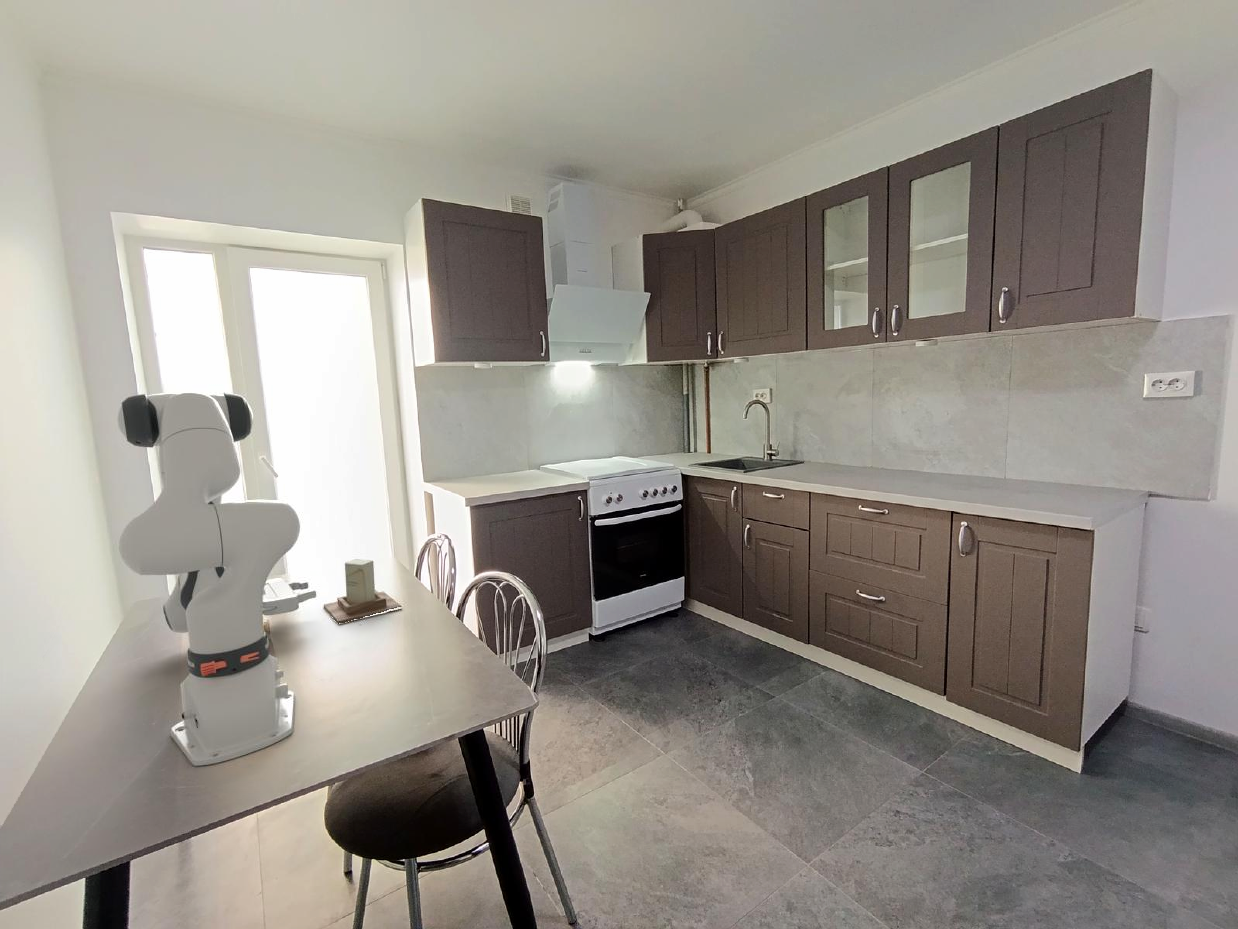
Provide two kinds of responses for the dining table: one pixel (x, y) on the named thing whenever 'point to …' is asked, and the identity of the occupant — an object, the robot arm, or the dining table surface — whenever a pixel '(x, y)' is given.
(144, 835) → the dining table surface
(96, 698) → the dining table surface
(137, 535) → the robot arm
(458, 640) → the dining table surface
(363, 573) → the skincare box
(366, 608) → the brown box holder base
